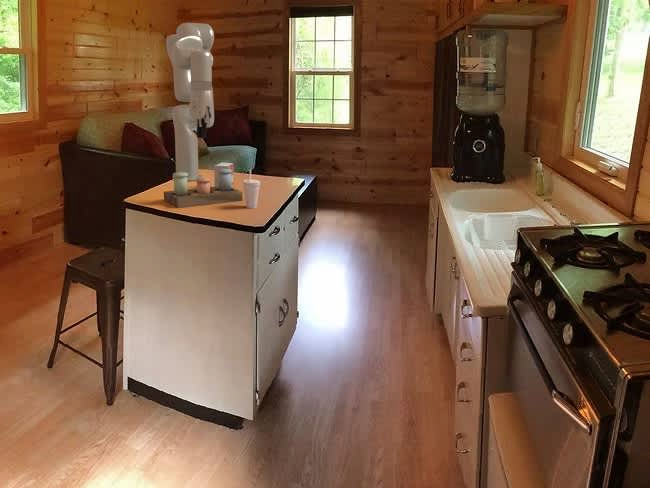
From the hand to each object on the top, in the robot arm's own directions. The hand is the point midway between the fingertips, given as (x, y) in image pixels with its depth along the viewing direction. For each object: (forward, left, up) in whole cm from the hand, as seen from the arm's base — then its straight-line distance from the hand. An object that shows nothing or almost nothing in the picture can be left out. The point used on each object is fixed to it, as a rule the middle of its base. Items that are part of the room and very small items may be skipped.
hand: (201, 137), depth 230 cm
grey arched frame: (-13, +16, -24) cm, 31 cm away
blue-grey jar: (+1, +9, -20) cm, 22 cm away
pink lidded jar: (+1, 0, -23) cm, 23 cm away
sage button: (+1, -9, -20) cm, 22 cm away
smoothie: (+18, +11, -24) cm, 32 cm away
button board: (+1, 0, -24) cm, 24 cm away
